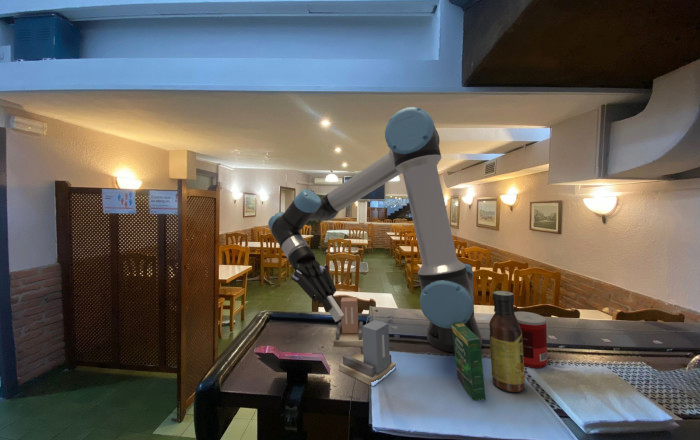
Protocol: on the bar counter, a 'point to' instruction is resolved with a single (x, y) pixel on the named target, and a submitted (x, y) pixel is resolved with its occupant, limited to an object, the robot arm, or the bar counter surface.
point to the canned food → (533, 338)
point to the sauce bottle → (506, 344)
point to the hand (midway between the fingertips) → (339, 318)
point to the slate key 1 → (376, 345)
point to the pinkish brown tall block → (349, 315)
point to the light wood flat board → (357, 357)
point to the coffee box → (468, 361)
